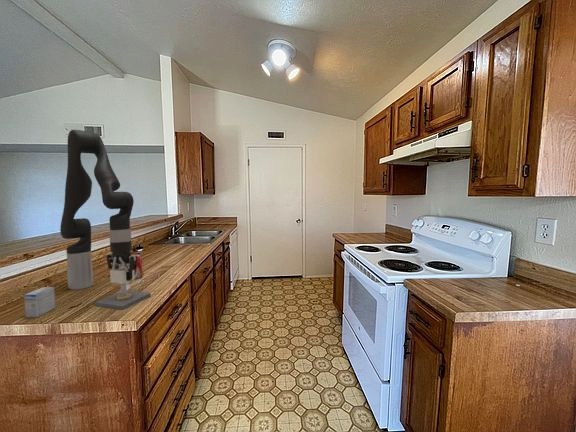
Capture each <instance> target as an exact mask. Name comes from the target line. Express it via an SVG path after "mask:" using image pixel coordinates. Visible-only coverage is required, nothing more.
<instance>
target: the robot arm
mask: <svg viewBox="0 0 576 432" xmlns="http://www.w3.org/2000/svg"><path fill="white" fill-rule="evenodd" d="M107 152H108V151H107V149H106V148H105V144H104V141H103V139H102V137H101V135H99V134H98V133H96V132H93V131H87V130H80V129H70V131H69V132H68V135H67V169H66V178H65V185H64V186H65V188H64V205H63V212H62V216H61V221H60V228H59V229H60V231H59V232H60V235H61V237H62V238H63V239H65V240H70V239H71V240H72V239H73V240H74V239H79V240H78V241H76V242H75V243H73V244H70V245H69V246H67V247H66V262H67V268H66V279H67V288H69V290H72V291H75V290H83V289H86V288H90V287H92V286H93V285H94V275H93V273H94V272H93V261H92V260H93V259H92V256H93V255H92V225H91V222H90V219H89V218H83V217H82V218H75V216H76V213H77V212H79V210H80V209H81V208H82V207H83V205H84V204H86V203H87V201H88V200H89V199H90V197H91V195H92V188H93V181H92V178H91V177H90V175H89V173H88V172H87V171H86V170H85V168H84V165H83V164H82V154H91V155H92V154H93V155H95V157H96V159H97V160H96V163H95V164H94V165H95V166H94V169H93V176H94V177H95V179H96V182H97V184H98V185H99V188H100V191H101V199H102V203H103V206H104V207H106V208H107V209H108V210H119V209H120V210H119V212H118V213H116V214H112V215H111V216H110V217H109V219H108V220H109V249H110V251H109V252H110V253H109V254H107V255H106V262H107V268H108V270H114V269H117V268H120V267H124V268H125V270H126V280H127V281H129V280H131V281H133V280H132V271H133V270H135V269H137V256H132V255H133V254H131V251H132V250H133V247H132V246H133V245H132V242H133V241H132V232H131V231H132V230H131V222H130V221H131V215H132V210H133V207H134V196H133V195H132V194H131V193H130V192H128V191H118V190H119V189H120V188H121V183H120V181H119V179H118V177H117V175H116V173H115V171H114V170H113V167H112V165H111V163H110V159H109V156H108V153H107ZM127 263H128V264H127ZM133 265H134V266H133ZM128 266H129V269H128ZM129 282H130V281H129Z"/></svg>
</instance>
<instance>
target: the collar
mask: <svg viewBox="0 0 576 432" xmlns="http://www.w3.org/2000/svg"><path fill="white" fill-rule="evenodd" d="M128 269H129V267H128ZM109 276H110V283H111V284H119V285H120V284H123V283H127V282H129V283H130V282H132V281H133V280H136V279H135V276H134V270H133V271H132V280H129V281H127V280H126V270H125V268H124V267H123V266H120V267H119V268H117V269H114V270H112V269H110V270H109Z"/></svg>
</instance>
